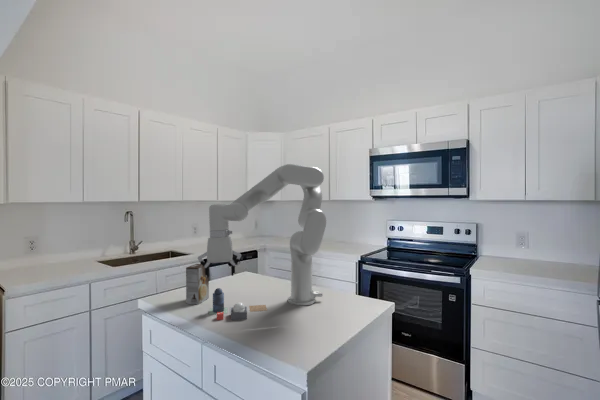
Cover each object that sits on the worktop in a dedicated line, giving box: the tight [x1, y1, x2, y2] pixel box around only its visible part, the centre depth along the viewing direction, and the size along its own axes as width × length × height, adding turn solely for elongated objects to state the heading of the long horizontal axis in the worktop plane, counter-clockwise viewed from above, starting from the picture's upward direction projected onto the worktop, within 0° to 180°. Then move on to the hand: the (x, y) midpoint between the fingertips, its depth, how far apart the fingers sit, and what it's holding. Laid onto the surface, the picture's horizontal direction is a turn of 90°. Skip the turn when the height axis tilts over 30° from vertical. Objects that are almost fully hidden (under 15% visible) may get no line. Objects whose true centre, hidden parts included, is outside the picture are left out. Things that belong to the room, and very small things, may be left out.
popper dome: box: [232, 301, 245, 313], centre depth 118 cm, size 4×4×5 cm
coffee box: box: [185, 263, 210, 305], centre depth 138 cm, size 9×6×16 cm
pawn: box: [212, 287, 225, 313], centre depth 124 cm, size 4×4×9 cm
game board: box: [208, 304, 268, 321], centre depth 122 cm, size 23×14×3 cm, turn 102°
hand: (220, 275), depth 124 cm, fingers open, 9 cm apart
